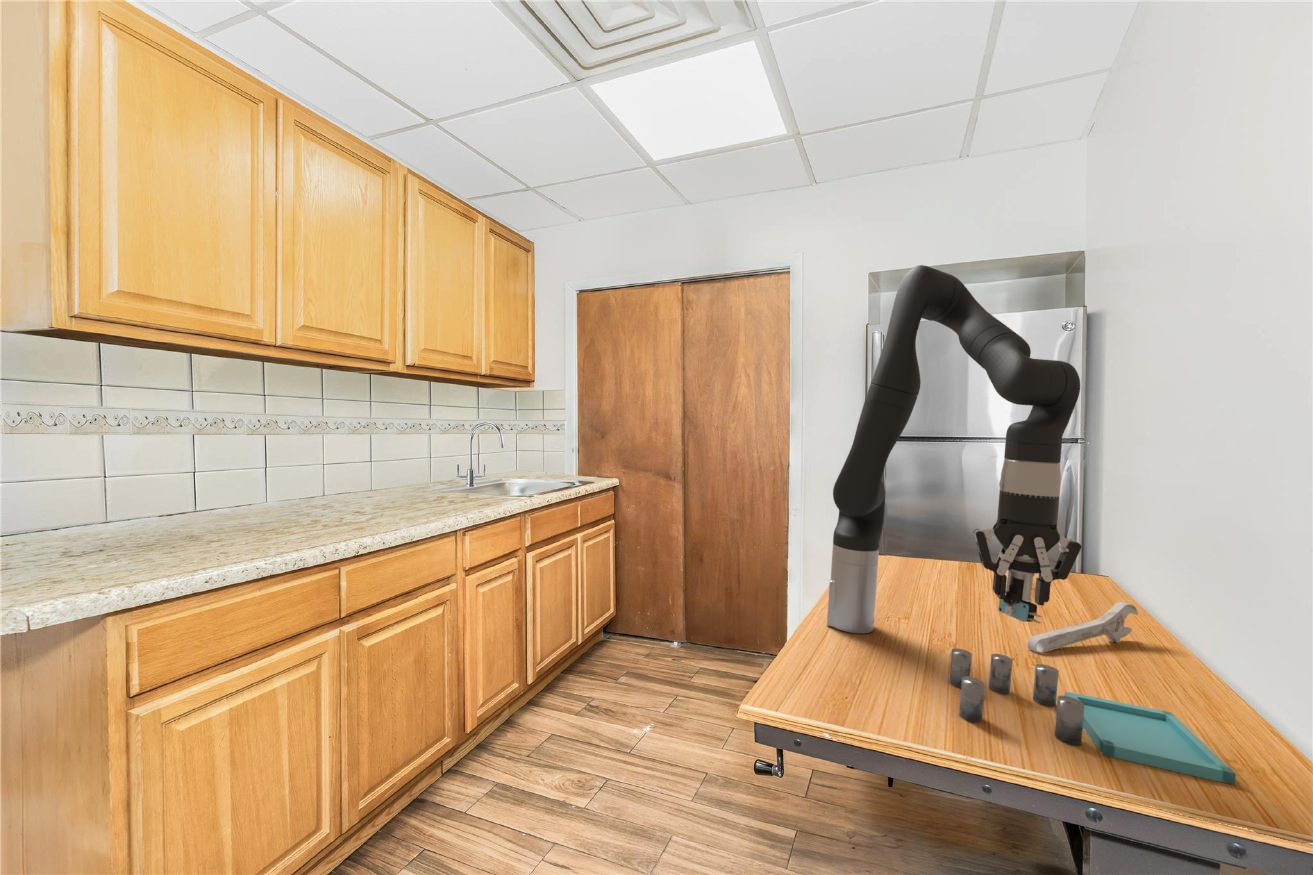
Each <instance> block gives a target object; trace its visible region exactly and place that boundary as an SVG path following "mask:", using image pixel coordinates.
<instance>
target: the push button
mask: <svg viewBox="0 0 1313 875" xmlns="http://www.w3.org/2000/svg"><path fill="white" fill-rule="evenodd" d="M1010 555H1011V554H1010ZM1036 560H1037V559H1034V558H1030V557H1029V556H1028V555H1023V556H1021V557H1018V556H1015V557H1014V559H1013V562H1012V563H1011V564H1010V565H1009V568H1008V570H1007V572H1008V573H1007V582H1006V594H1005V600H1004V599H999V601H998V602H999V603H998V608H997V609H998V611H999V612H1000V613H1002V614H1005V615H1006V616H1008V617H1012V618H1013V619H1016V620H1018V621H1020V622H1022V623H1023V622H1025V623H1027V622H1030V623H1031V622H1032V623H1033V622H1034V623H1036V624H1042V622H1041V621H1039V620H1037V619H1035V617H1037V618H1043V616H1042V615H1040V614H1037V612H1038V605H1037V604H1036V603H1033V602H1032V598H1031V597H1032V590H1033V579H1034V576H1035V574H1036V575H1037V574H1038V573H1040V568H1039V567H1040V565H1039V564H1038V563H1036Z"/></svg>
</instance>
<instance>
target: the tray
mask: <svg viewBox="0 0 1313 875" xmlns="http://www.w3.org/2000/svg"><path fill="white" fill-rule="evenodd" d="M1064 696H1068V697H1072V698H1075V699H1077V700H1079V701H1081V702H1083V703H1084V705H1085V706H1084V718H1083V729H1084V730H1085V732H1086V733H1087V734H1088V736H1089V737H1090V738H1091V740H1092V742H1093V743H1094V744H1095V746H1096V747H1097V748H1098V751H1100V753H1101V754H1102V755H1103V756H1107V757H1111V758H1115V759H1119V760H1124V761H1128V762H1133V763H1137V764H1142V765H1146V766H1151V767H1154V768H1159V769H1163V770H1168V771H1172V772H1174V773H1175V772H1176V773H1181V774H1184V775H1189V776H1193V777H1197V778H1201V779H1206V780H1210V781H1214V782H1219V783H1222V784H1228V785H1233V786H1235V785H1236V776H1237V775H1236V772H1235V771H1234V770H1233V769H1231V768H1230V767H1229V765H1227V764H1226V762H1224V760H1222V759H1221V758H1220V757H1219V756H1218V755H1217V754H1216V753H1215V752H1214V751H1212V749H1211V748H1210V747H1208V746H1207V745H1206V744H1205V743H1204V742H1203V741H1202V740H1201V739H1200V738H1199V737H1198V736H1197V735H1196V734H1194V732H1192V730H1190V728H1188V727H1187V725H1185V724H1184V723H1183V722H1182V721H1181V720H1180V719H1179V718H1178V717H1177V716H1175V715H1174V713H1173V712H1169V711H1165V710H1160V709H1155V708H1151V707H1145V706H1141V705H1134V704H1132V703H1125V702H1120V701H1114V700H1110V699H1105V698H1099V697H1094V696H1091V695H1090V696H1089V695H1086V694H1085V695H1084V694H1081V693H1080V694H1079V693H1075V692H1070V691H1069V692H1068V691H1064Z"/></svg>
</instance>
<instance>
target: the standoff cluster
mask: <svg viewBox="0 0 1313 875" xmlns="http://www.w3.org/2000/svg"><path fill="white" fill-rule="evenodd" d="M950 650H951V652H950V653H951V654H950V664H949V667H950V668H949V676H948V677H949V681H948V683H949V684H951V686H953V687H955V688H958V689H960V696H959V697H960V699H959V714H958V716H959V717H960V718H962V719H963V720H965V721H967V722H970V723H973V724H979V723H982V722H983V716H984V705H985V704H984V702H985V691H986V683H985V682H984V680H981V679H979V678H977V677H974V676H971V673H972V671H971V670H972V669H971V668H972V659H973V654H972V653H971V652H970V651H968V650H966V649H961V648H957V647H956V648H955V647H954V648H952V649H950ZM1034 667H1035V668H1034V677H1033V678H1034V679H1033V681H1034V682H1033V690H1032V691H1033V692H1032V700H1033V702H1035V703H1036V704H1039V705H1041V706H1044V707H1047V708H1055V707H1056V715H1055V722H1054V723H1055V726H1054V737H1055V738H1056V739H1057V740H1059V741H1060V742H1062V743H1064V744H1067V745H1070V746H1074V747H1078V746H1081V745H1082V739H1083V738H1082V737H1083V729H1084V727H1083V718H1084V706H1085V705H1084V703H1083V702H1081V701H1079V700H1077V699H1075V698H1072V697H1068V696H1065V695H1058V694H1057V693H1058V686H1059V685H1058V682H1059V669H1057V668H1055V667H1054V666H1051V665H1048V664H1045V663H1043V664H1042V663H1036V664H1035V666H1034ZM1012 673H1013V659H1012V657H1010V656H1007V655H1005V654H1001V653H992V654H991V655H990V666H989V676H988V678H989V679H988V689H989V690H990V691H992V692H993V693H996V694H998V695H1002V696H1003V695H1005V696H1009V695H1010V694H1011V687H1012V686H1011V685H1012V684H1011V683H1012Z"/></svg>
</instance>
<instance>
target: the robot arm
mask: <svg viewBox="0 0 1313 875" xmlns="http://www.w3.org/2000/svg"><path fill="white" fill-rule="evenodd" d="M922 319H924V320H926V321H929V322H930V321H931V322H933V321H934V322H937V323H939V324H941V325H943V326H945V327H947V328H948V329H950V330H952V331H953V332H954V333H955V334H956V335H957V337H958V340H959V341H958V342H959V344H960V346H961V347H962V350H964V352H965V353H966V354H967V355H968V356H969V357H970V358H972V360H973V361H974V362H976V364H978V365H979V366H980V367H981V368H983V370H985V372H986V374H987V376H988V380H990V383H991V385H992V386H993V389H994V391H996V393H997V394H998V395H999V396H1000V397H1001V398H1002V399H1004V401H1007V402H1009V403H1011V404H1014V405H1019V406H1032V408H1031V410H1030V412H1029V414H1028V417H1027V418H1026V419H1025V420H1021V421H1017V422H1014V423H1012V424H1010V425H1009V426H1008V427H1007V430H1006V434H1005V446H1004V456H1003V458H1004V460H1003V464H1002V468H1001V472H1000V480H999V483H998V484H999V494H998V504H997V505H998V506H997V518H996V522H995V524H994V525H993V526H992V528H987V529H980V528H975V529H974V530H973V531H972V532H973V537H974V540H975V541H974V542H975V543H976V544H975V545H976V548H977V551H978V556H979V560H980V564H981V565H982V567H984V568H985V569H986V570H989V571H991V572H993V579H992V591H993V593H994V594H995V595H996V597H997V598H998V599H999V600H1000V599H1004V600H1005V595H1006V587H1007V579H1008V575H1006V573H1007V572H1008V571H1009V570H1008V568H1009V565H1010V564H1011V563H1012V562H1013V559H1014V557H1015V556H1018V557H1021V556H1023V555H1028V556H1029V557H1030V558H1034V559H1037V560H1036V563H1038V564H1039V565H1040V567H1039V568H1040V573H1037V574H1038V577H1036V579H1035V592H1034V604H1036V605H1037V606H1042V607H1044V606H1045V603H1048V602H1049V601H1050V597H1051V595H1050V594H1051V586H1052V585H1051V583H1052V582H1053V581H1056V580H1062V581H1064V580H1066V579H1067V578H1068V577H1069V574H1070V573H1071V571H1072V569H1073V566H1074V564H1075V562H1076V559H1077V558H1078V556H1079V554H1080V551H1081V549H1082V545H1081V543H1079V542H1077V541H1076V540H1074V539H1072V538H1071V539H1068V538H1066V537H1063V536H1061V535H1060V533H1059V531H1058V528H1057V527H1058V521H1059V520H1058V518H1059V508H1060V497H1061V495H1060V494H1061V487H1062V486H1061V485H1062V484H1061V483H1062V482H1061V481H1062V474H1061V458H1062V447H1063V446H1062V445H1063V436H1064V434H1065V431H1066V429H1067V427H1068V425H1069V422H1070V419H1071V417H1072V415H1073V412H1074V410H1075V407H1076V405H1077V402H1078V399H1079V397H1080V393H1081V380H1080V376H1079V372H1078V371H1077V369H1076V368H1075V366H1073V365H1072V364H1071V363H1069V362H1067V361H1062V360H1053V359H1042V358H1041V359H1040V358H1032V357H1031V352H1032V351H1031V347H1030V345H1029V343H1028V342H1027V341H1026V339H1024V338H1023V336H1021V335H1019V334H1018V333H1017V332H1015V331H1014V330H1012V329H1011V328H1010V327H1009V326H1008V325H1006V324H1005V323H1003V322H1002V321H1001V320H999V319H998V318H996V316H993V315H992V314H991V313H990V312H988V311H987V310H986V309H985V308H984V306H982V305H981V304H980V303H979V302H978V300H976V298H975V297H974V296H973V294H971V292H970V290H969V289H968V288H967V287H966V286H965V283H963V282H962V281H961V280H960V279H959V278H958V277H956V276H954V275H952V274H950V273H947V272H945V271H942V270H939V269H937V268H933V267H931V266H928V265H923V264H920V265H916V266H914V267H912V268H911V269H910V270H909V271H907V272H906V274H905V275H904V276H903V278H902V280H901V282H900V284H899V286H898V289H897V291H896V293H895V298H894V302H893V305H892V309H891V314H890V319H889V321H888V322H889V324H888V326H887V327H888V328H887V331H886V335H885V340H884V343H883V345H882V349H881V352H880V356H879V359H878V361H877V362H878V363H877V365H876V368H875V371H874V374H873V376H872V378H871V381H870V384H869V387H868V390H867V393H866V396H865V398H864V403H863V406H862V409H861V412H860V415H859V418H858V423H857V426H856V430H855V434H854V438H853V442H852V445H851V448H850V449H849V452H848V455H847V457H846V458H845V459H846V460H845V461H844V464H843V466H842V468H841V470H840V472H839V475H838V476H837V478H836V481H835V483H834V484H833V485H834V486H833V488H832V497H833V502H834V504H835V506H836V508H837V509H838V518H837V523H836V525H835V527H834V530H833V537H832V538H833V539H832V552H831V553H832V554H831V566H830V569H831V570H830V579H829V584H828V585H829V587H828V588H829V589H828V602H827V618H826V619H827V620H826V626H828V627H833V628H834V629H836V630H840V631H843V632H847V633H851V634H868V633H871V632H873V631H874V625H875V624H874V623H875V615H876V614H875V612H876V596H877V586H878V585H877V584H878V582H877V581H878V568H879V556H880V555H879V554H880V553H879V552H880V542H881V537H882V533H883V525H884V516H885V506H886V503H885V502H886V489H885V485H884V483H883V481H882V479H883V475H884V471H885V467H886V465H887V464H886V463H887V461H888V459H889V456H890V455H891V452H892V450H893V449H894V447H895V445H896V443H897V442H898V440H899V438H900V437H901V435H902V433H903V431H904V429H905V428H906V426H907V424H908V422H909V419H910V418H911V416H912V413H913V410H914V409H915V408H914V407H915V405H916V402H917V400H918V396H919V394H920V389H921V381H922V380H921V374H920V373H921V372H920V371H921V370H920V366H919V362H918V356H917V355H918V354H917V349H916V348H917V347H916V341H917V334H918V331H919V327H920V323H921V320H922ZM994 536H995V538H996V539H997V540H998V541H999V543H1000V545H1001V548H1000V550H999V551H998V556H997V559H996V561H995V562H994V561H992V557H991V553H990V552H991V551H990V550H989V545H988V544H991V543H992V538H993V537H994ZM1057 544H1058V549H1059V551H1060V554H1059V556H1058V558H1057V560H1056V562H1055V565H1054V567H1053V568H1051V567H1050V566H1051V565H1050V560H1049V557H1048V554H1047V553H1048V552H1049V551H1050V550H1052V548H1054V547H1055V546H1056V545H1057ZM1010 554H1011V555H1010Z"/></svg>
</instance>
